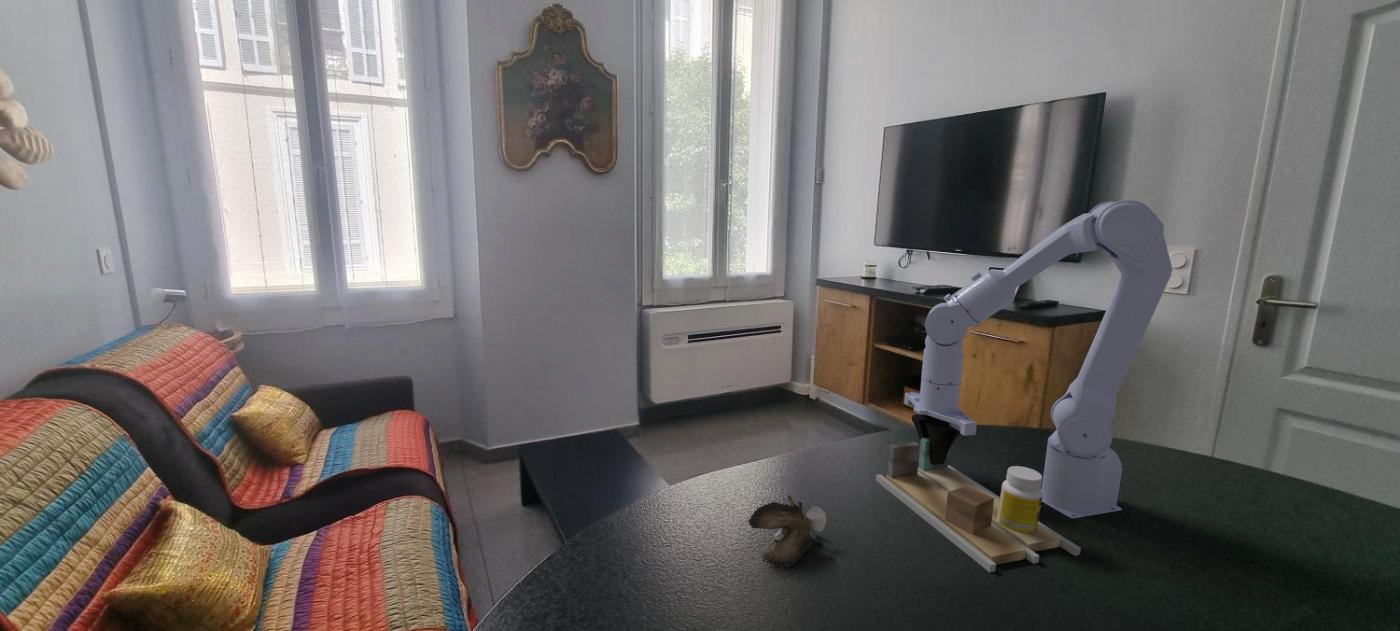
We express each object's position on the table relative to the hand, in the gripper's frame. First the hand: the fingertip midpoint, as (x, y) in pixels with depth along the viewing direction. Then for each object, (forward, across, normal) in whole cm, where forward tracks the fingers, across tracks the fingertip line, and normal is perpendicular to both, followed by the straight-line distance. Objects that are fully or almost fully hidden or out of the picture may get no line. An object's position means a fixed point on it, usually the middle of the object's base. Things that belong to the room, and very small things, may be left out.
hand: (933, 461), depth 92 cm
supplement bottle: (+2, +17, 0) cm, 17 cm away
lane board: (+3, +11, -3) cm, 12 cm away
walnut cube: (+1, +15, -6) cm, 17 cm away
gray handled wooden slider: (+2, +11, -6) cm, 13 cm away
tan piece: (+2, +10, 0) cm, 11 cm away
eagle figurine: (+3, +12, -31) cm, 33 cm away
